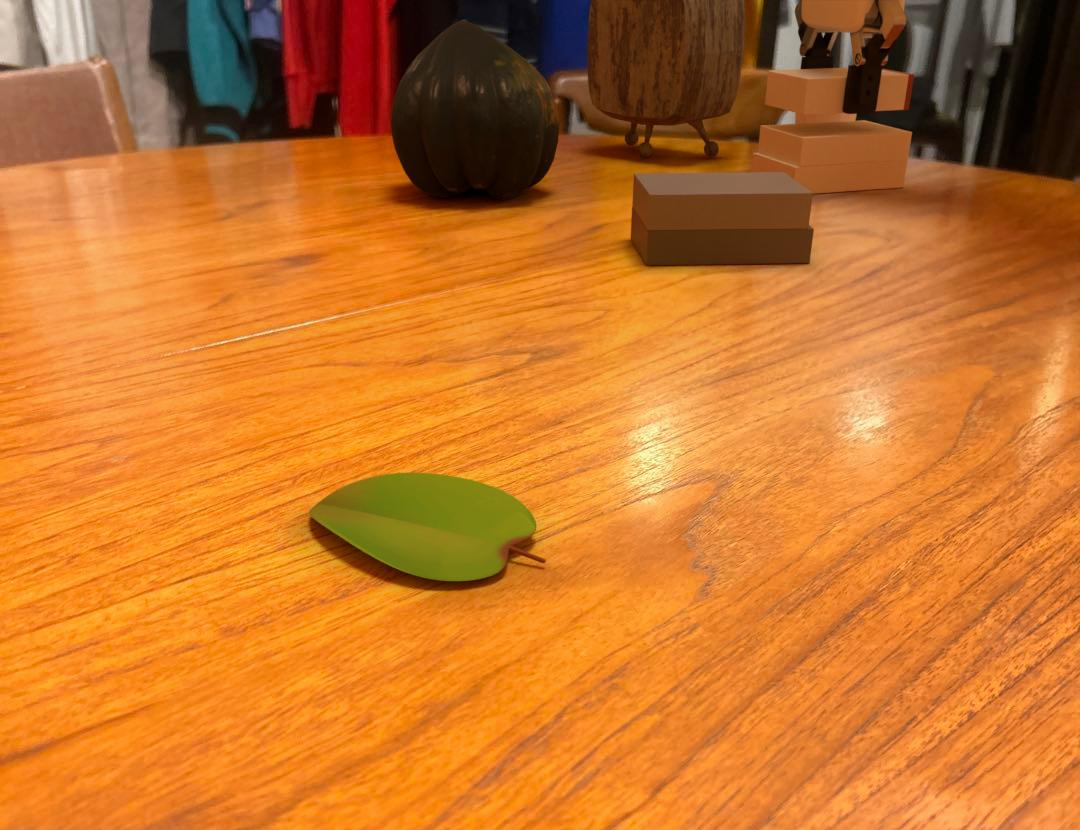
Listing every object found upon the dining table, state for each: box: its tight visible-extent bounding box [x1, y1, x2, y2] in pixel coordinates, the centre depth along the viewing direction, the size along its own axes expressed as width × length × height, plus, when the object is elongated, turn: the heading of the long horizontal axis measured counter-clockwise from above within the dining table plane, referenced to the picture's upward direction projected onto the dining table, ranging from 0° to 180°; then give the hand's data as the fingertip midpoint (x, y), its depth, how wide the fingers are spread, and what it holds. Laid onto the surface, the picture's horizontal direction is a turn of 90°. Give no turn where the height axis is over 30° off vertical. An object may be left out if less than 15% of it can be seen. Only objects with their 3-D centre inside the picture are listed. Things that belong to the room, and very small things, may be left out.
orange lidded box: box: [750, 119, 913, 195], centre depth 104 cm, size 12×8×5 cm, turn 109°
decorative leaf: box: [308, 472, 547, 582], centre depth 43 cm, size 8×9×1 cm
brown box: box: [630, 171, 815, 267], centre depth 81 cm, size 12×8×5 cm, turn 94°
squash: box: [390, 19, 560, 201], centre depth 98 cm, size 14×15×15 cm
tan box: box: [764, 67, 915, 115], centre depth 101 cm, size 11×7×3 cm, turn 109°
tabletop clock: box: [586, 0, 746, 159], centre depth 112 cm, size 14×9×25 cm, turn 49°
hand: (835, 105), depth 102 cm, fingers closed on tan box, 7 cm apart
